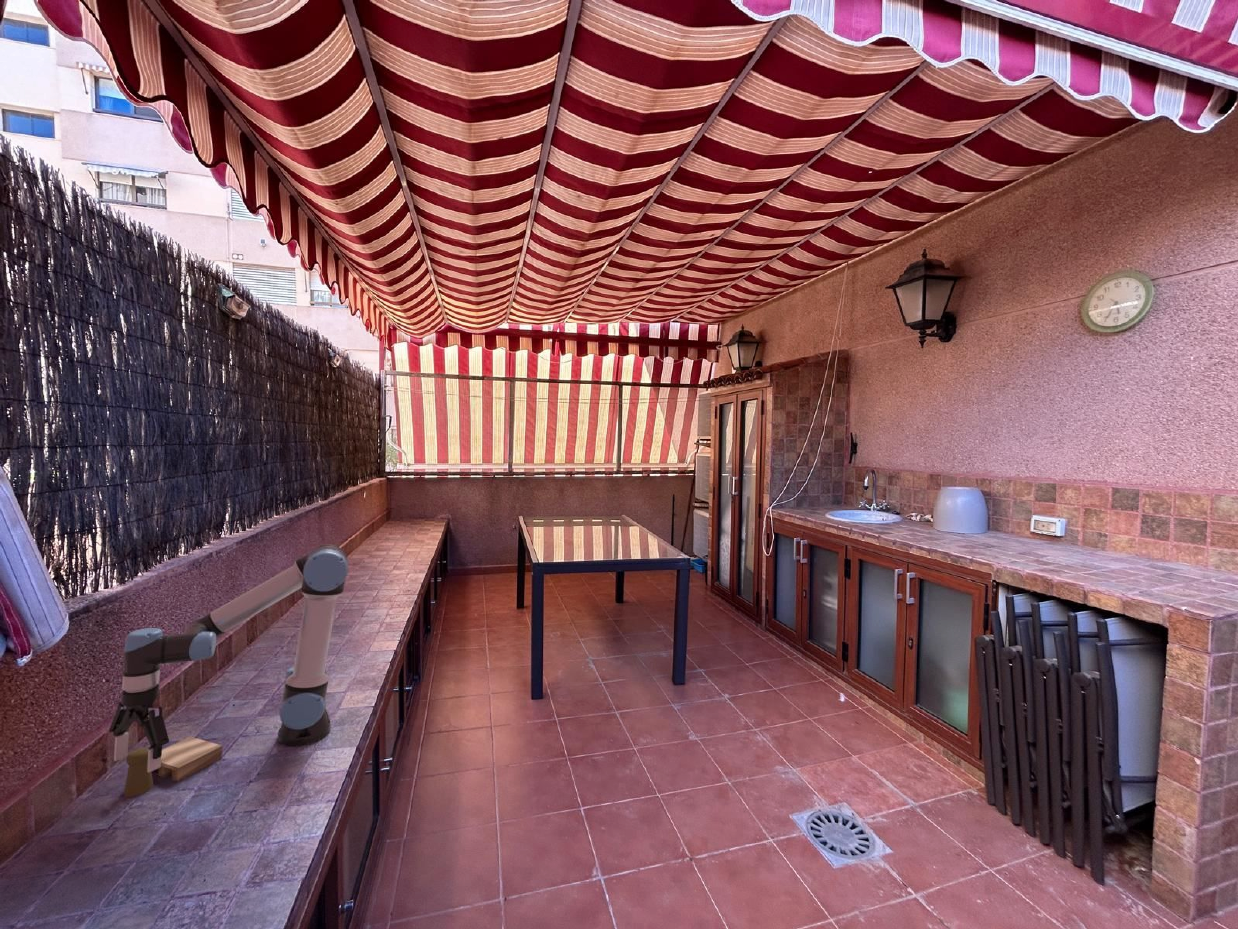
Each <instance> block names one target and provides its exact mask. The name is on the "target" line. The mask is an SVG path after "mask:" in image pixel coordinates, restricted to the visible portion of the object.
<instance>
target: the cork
mask: <svg viewBox="0 0 1238 929" xmlns="http://www.w3.org/2000/svg"><path fill="white" fill-rule="evenodd" d="M148 748H149V747H140V748H137V749H134V750H132V751H131V752H129V753H128V756H126V764H127V765H128V769H127V774H126V780H125V786H124V791H123V796H124V797H126V798H133V797H137V796H141V795H143V794H146V793H147V792H149V791H150V790H152V789H153V787H154V780H153V774H152V773H151V772H147V767H148Z"/></svg>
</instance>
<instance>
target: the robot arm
mask: <svg viewBox="0 0 1238 929" xmlns="http://www.w3.org/2000/svg"><path fill="white" fill-rule="evenodd" d="M348 572H349V564H348V556H347V554H346V553H345V551H344V549H343V548H341V547H340V546H338V545H336V544H333V543H332V544H331V543H327V544H326V543H325V544H322V545H319V546H316V547H315V548H314V549H312V550H311V551H309V552H308V553H306V554H305V555H303V556H300V558H298V559H296V560H295V561H294V563H293V565H292V566H290V567H289V568H286V569H285V570H283V571H282V572H280V573H278V574H275V576H273V577H271V578H269V579H267V580H266V581H264V582H262V583H260V584H259V585H256V586H254V587H253V588H252V589H250V590H248V591H246V592H244V593H243V594H241V595H239V596H238V597H236V598H234V599H232V600H230V601H229V602H227V603H225V604H224V605H222V606H220V607H218V608H216V609H215V610H213V611H211V612H210V613H207V614H206V615H204V616H200V617H198V618H197V617H196V619H194V620H193V621H191V622H189V624H187V625H186V628H185V629H184V630H183V632H182V633H180V634H179V633H178V634H173V635H172V634H171V635H170V634H169V635H166V634H165V635H164V634H163V630H162V629H161V628H157V627H154V628H153V627H147V628H140V629H137V630H133V631H131V632H129V633H128V634H127V635H126V637H125V641H124V649H123V672H122V684H121V687H122V688H121V689H122V692H121V701H118V704H117V709H116V712H115V715H114V718H113V720H112V721H111V724H110V726H109V728H108V729H109V730H108V732H109V733H112V734H113V736H114V754H113V755H114V757H113V761H114V762H117V761H120V760H122V759H124V758H127V756H128V755H129V737H130V732H129V731H130V730H129V728H130V727H131V726H132V724H133V723H137V724H138V726H139V727H141V728H142V729H143V732H144V734H145V736H146V738H147V740H148V743H149V747H147V748H148V767H147V772H151V771H153V770H155V769H158V768H160V767H161V756H162V749H163V746H165V745H166V744H168V743H170V739H169V735H168V731H167V728H166V724H165V719H164V716H163V707H162V706H158V707H154V702H155V701H156V700H157V699H158V698H159V697H160V684H159V683H160V677H161V676H160V673H161V665H163V664H174V663H184V662H198V661H201V660H206V659H207V660H209V659H210V658H212V657H213V656H214V655H215V651H216V647H217V638H218V637H220V636H221V635H223V634H225V633H226V632H228V631H230V630H232V629H234V628H235V627H237V626H239V625H241V624H242V623H243V622H246V621H247V620H248V619H251V618H252V617H253V616H255V615H257V614H259V613H261V612H263V611H264V610H266V609H267V608H269V607H271V606H272V605H274V604H276V603H278V602H279V601H281V600H283V599H285V598H286V597H288V596H289V595H291V594H293V593H295V592H296V591H298V590H300V592H301V594H302V595H303V596H304V597H305V599H304V605H303V611H302V617H301V624H300V627H299V628H300V629H299V634H298V642H297V646H296V652H295V657H294V658H295V659H294V665H293V666H292V667H290V668H288V669H287V671H286V672H285V677H284V678H285V684H284V689H283V696H282V701H281V706H280V708H279V718H280V721H281V725H280V728H279V729H278V731H277V742H278V744H280V745H281V746H285V747H291V748H292V747H302V746H306V745H310V744H313V743H316V742H318V741H320V740H322V739H324V738H325V737H326V736H327V735H329V734H330V732H331V730H330V729H332V727H331V726H332V724H331V719H330V716H329V714H328V710H327V708H326V707H327V705H326V697H327V692H328V687H329V681H330V679H329V678H330V677H329V675H328V670H327V659H328V653H329V647H330V642H331V636H332V629H333V623H334V616H335V611H336V605H337V600H338V597H340V596H342V595H343V593H344V588H345V582H346V578H347V576H348V574H349V573H348ZM319 739H320V740H319ZM158 770H159V769H158Z"/></svg>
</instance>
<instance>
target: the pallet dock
mask: <svg viewBox="0 0 1238 929" xmlns="http://www.w3.org/2000/svg"><path fill="white" fill-rule="evenodd" d="M222 754H223V745H221V744H217V743H216V742H215V743H214V742H210V741H207V740H203V739H200V738H197V737H193V736H188V737H186V738H184V739H182V740H180V741H178V742H176V743H173V744H172V745H169V746H167V747H164V748H162V756H161V767H160V768H158V769H155V770H153V771H151V774H152V773H155V772H156V771H158V776H160V777H162V778H165V777H167V776H169V775H171V781H175V782H179V781H182V780H184V779H185V778H187V777H189V776H191V775H193V774H195V773H196V772H199V771H200V770H203V769H204V768H206V767H208V766H211V765H212V764H214V763H215V762H218V761H220V760H221V759H223V758H222Z"/></svg>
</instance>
